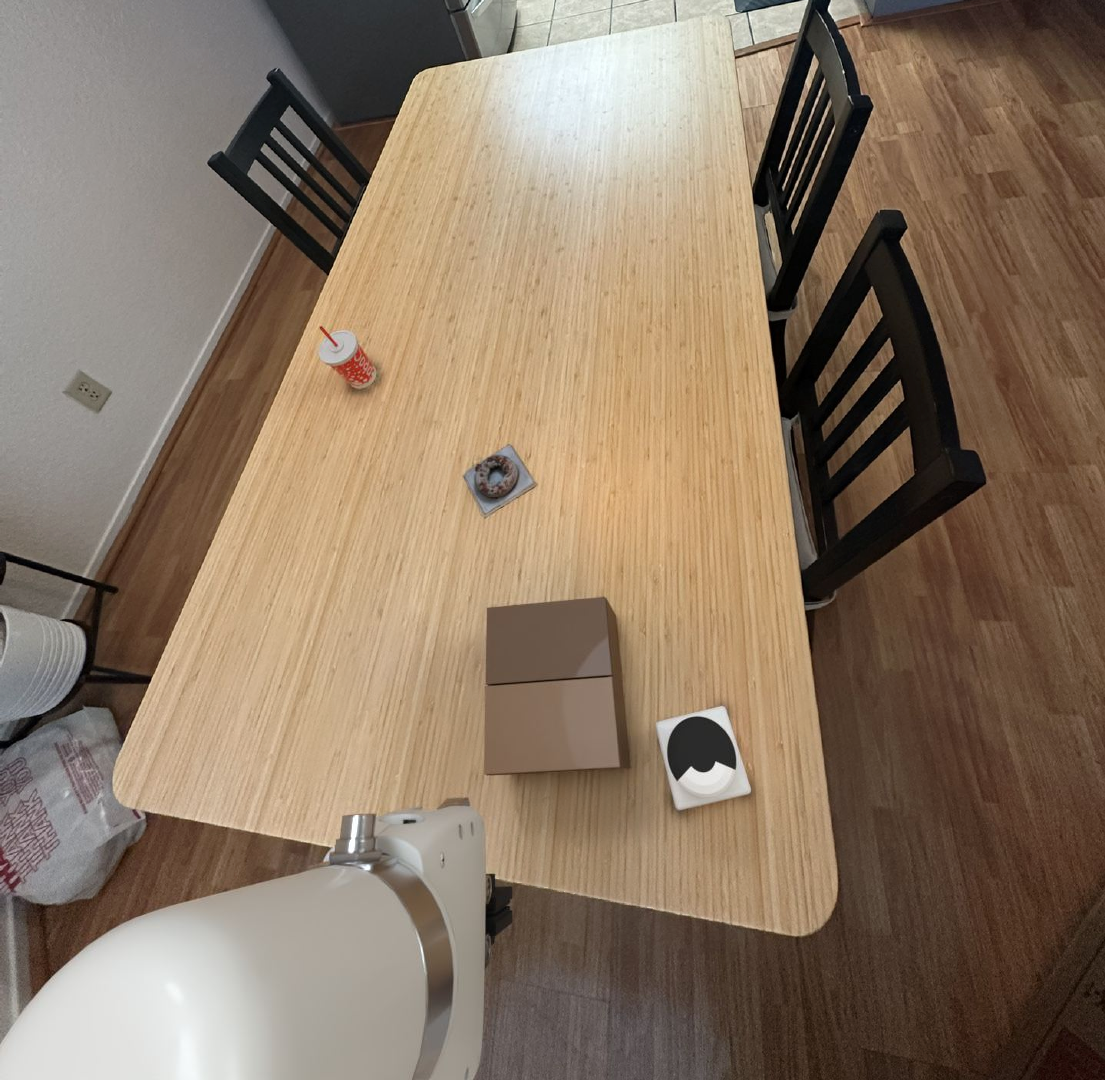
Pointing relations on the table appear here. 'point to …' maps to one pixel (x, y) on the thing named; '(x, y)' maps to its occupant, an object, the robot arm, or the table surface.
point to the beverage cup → (347, 358)
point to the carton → (557, 651)
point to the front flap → (550, 726)
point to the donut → (498, 480)
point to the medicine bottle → (702, 758)
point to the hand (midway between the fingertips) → (487, 904)
